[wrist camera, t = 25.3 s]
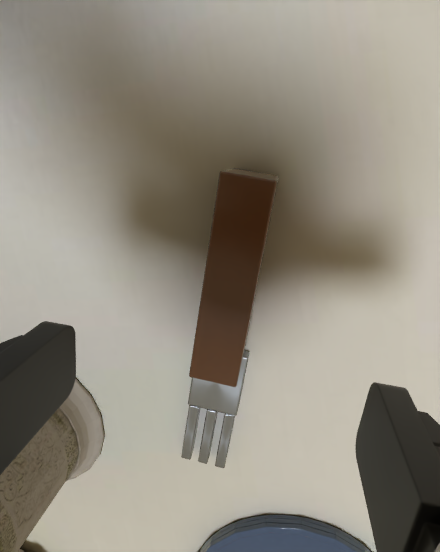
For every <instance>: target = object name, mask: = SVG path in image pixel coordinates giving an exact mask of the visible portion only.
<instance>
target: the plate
mask: <svg viewBox="0 0 440 552" xmlns="http://www.w3.org/2000/svg"><path fill="white" fill-rule="evenodd" d="M199 552H371V551H370V550H369V549H368V548H367V547H366V546H364V545H363V544H362V543H361V542H359V541H358V540H356V539H355V538H353V537H352V536H350V535H349V534H347V533H345V532H343V531H341V530H340V529H338V528H336V527H333V526H331V525H328V524H326V523H323V522H320V521H316V520H313V519H309V518H304V517H298V516H291V515H263V516H255V517H250V518H246V519H242V520H239V521H237V522H234V523H232V524H229V525H228V526H226V527H224V528H222V529H220V530H219V531H218V532H216V533H215V534H214V535H212V536H211V537H210V538H209V539H208V540H207V542H206V543H205V544H204V545H203V547H202V548H201V550H200V551H199Z"/></svg>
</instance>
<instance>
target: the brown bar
mask: <svg viewBox="0 0 440 552" xmlns="http://www.w3.org/2000/svg"><path fill="white" fill-rule="evenodd" d="M277 183H278V176H276V175H270V174H264V173H259V172H253V171H247V170H241V169H235V168H233V169H229V170H225V171H221V172H220V175H219V182H218V189H217V195H216V202H215V208H214V215H213V222H212V228H211V235H210V241H209V248H208V255H207V261H206V268H205V274H204V281H203V288H202V294H201V301H200V307H199V314H198V321H197V327H196V334H195V340H194V347H193V354H192V360H191V367H190V373H189V376H190V377H192V381H191V388H190V394H189V401H188V404H189V411H188V417H187V424H186V430H185V437H184V443H183V449H182V456H181V457H182V458H185V459H191V456H192V452H193V448H194V442H195V436H196V430H197V424H198V418H199V412H200V407H201V408H205V409H207V413H206V418H205V424H204V430H203V436H202V442H201V447H200V453H199V459H198V461H199V462H202V463H206V464H207V462H208V459H209V454H210V449H211V444H212V438H213V433H214V427H215V422H216V416H217V411H218V412H222V413H225V416H224V421H223V426H222V431H221V437H220V442H219V447H218V452H217V458H216V463H215V466H217V467H221V468H224V467H225V462H226V457H227V452H228V447H229V442H230V437H231V432H232V427H233V422H234V417H235V416H236V415H237V411H238V406H239V401H240V396H241V391H242V386H243V381H244V376H245V371H246V366H247V361H248V356H249V352H248V351H244V350H245V345H246V340H247V335H248V329H249V324H250V319H251V314H252V309H253V304H254V299H255V294H256V289H257V284H258V279H259V274H260V269H261V264H262V259H263V254H264V249H265V244H266V239H267V234H268V228H269V223H270V218H271V213H272V208H273V203H274V198H275V193H276V188H277Z"/></svg>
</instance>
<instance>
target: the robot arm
mask: <svg viewBox="0 0 440 552" xmlns="http://www.w3.org/2000/svg"><path fill="white" fill-rule="evenodd" d="M75 377H76V351H75V330H74V328H73V327H72V326H69V325H63V324H58V323H52V322H47V321H44V322H42V323H40V324H39V325H38V326H36V327H35V328H33V329H32V330H31V331H29V332H28V333H27V334H25V335H24V336H23V335H21V336H18V337H15V338H13V339H10V340H8V341H5V342H2V343H1V344H0V475H1V474H2V473H3V471H4V470H5V469H6V468H7V467H8V466H9V464H10V463H11V462H12V461H13V460H14V459H15V458H16V456H17V455H18V454H19V453H20V452H21V451H22V450H23V448H24V447H25V446H26V445H27V444H28V443H29V442H30V440H31V439H32V438H33V437H34V436H35V435H36V434H37V432H38V431H39V430H40V429H41V428H42V427H43V425H44V424H45V423H46V422H47V421H48V420H49V419H50V417H51V416H52V415H53V414H54V413H55V412H56V411H57V409H58V408H59V407H60V406H61V405H62V404H63V403H64V401H65V400H66V399H67V398H68V397H69V395H70V393H71V391H72V389H73V386H74V383H75ZM356 458H357V463H358V468H359V472H360V477H361V481H362V486H363V490H364V495H365V500H366V504H367V509H368V513H369V518H370V522H371V527H372V531H373V536H374V541H375V545H376V550H377V552H440V425H439V424H438V423H437V422H436V421H435V420H434V419H433V418H432V417H431V416H430V415H429V414H428V413H425V412H420V411H417V409H416V407H415V405H414V403H413V401H412V399H411V397H410V395H409V393H408V391H407V389H406V388H402V387H397V386H391V385H386V384H380V383H373V384H372V385H371V387H370V389H369V393H368V396H367V400H366V403H365V407H364V411H363V414H362V418H361V421H360V425H359V428H358V432H357V438H356Z"/></svg>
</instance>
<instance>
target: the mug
mask: <svg viewBox="0 0 440 552" xmlns="http://www.w3.org/2000/svg"><path fill="white" fill-rule="evenodd" d="M103 440H104V430H103V423H102V416H101V414H100V412H99V410H98V408H97V406H96V404H95V402H94V400H93V398H92V396H91V395H90V394H89V393H88V391H87V390H86V389H85V388H84V387H83V386H82V385H81V384H80V382H79V381H78V380H77V379H76V378H75V383H74V386H73V389H72V391H71V393H70V395H69V397H68V398H67V399H66V400H65V401H64V403H63V404H62V405H61V406H60V407H59V408H58V409H57V411H56V412H55V413H54V414H53V415H52V416H51V417H50V419H49V420H48V421H47V422H46V423H45V424H44V425H43V427H42V428H41V429H40V430H39V431H38V432H37V434H36V435H35V436H34V437H33V438H32V439H31V440H30V442H29V443H28V444H27V445H26V446H25V447H24V448H23V450H22V451H21V452H20V453H19V454H18V455H17V456H16V458H15V459H14V460H13V461H12V462H11V463H10V464H9V466H8V467H7V468H6V469H5V470H4V471H3V473H2V474H1V475H0V552H18V550H19V549H20V547H21V546H22V544H23V543H24V542H25V540H26V539H27V537H28V536H29V534H30V533H31V531H32V530H33V528H34V527H35V525H36V524H37V522H38V521H39V519H40V518H41V516H42V515H43V514H44V512H45V511H46V509H47V508H48V506H49V505H50V503H51V502H52V500H53V499H54V497H55V496H56V494H57V493H58V491H59V490H60V489H61V487H62V486H63V484H64V483H65V482H66V481H67V480H69V479H73V478H76V477H77V476H79V475H81V474H82V473H84V472H86V471H87V470H89V469H90V468H91V466H92V465H93V464H94V462H95V461H96V459H97V458H98V457H99V455H100V454H101V449H102V445H103Z"/></svg>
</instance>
